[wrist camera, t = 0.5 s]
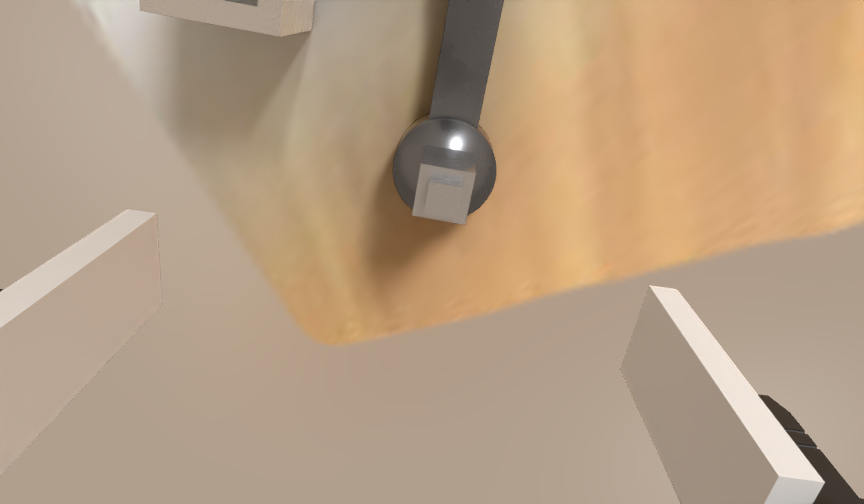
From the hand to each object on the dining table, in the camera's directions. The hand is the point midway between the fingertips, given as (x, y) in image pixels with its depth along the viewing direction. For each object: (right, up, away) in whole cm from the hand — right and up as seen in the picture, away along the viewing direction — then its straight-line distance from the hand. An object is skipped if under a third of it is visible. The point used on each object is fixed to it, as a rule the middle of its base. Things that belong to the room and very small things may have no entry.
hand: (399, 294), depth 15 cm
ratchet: (+3, +13, +20) cm, 24 cm away
